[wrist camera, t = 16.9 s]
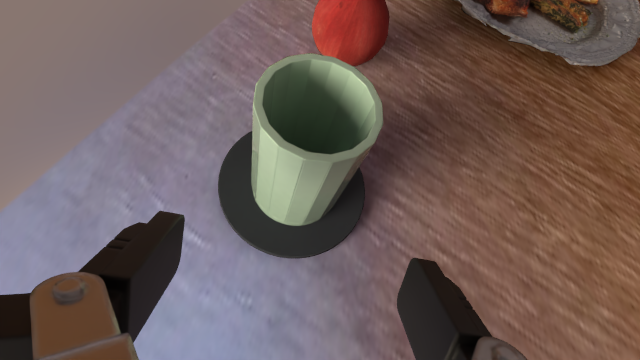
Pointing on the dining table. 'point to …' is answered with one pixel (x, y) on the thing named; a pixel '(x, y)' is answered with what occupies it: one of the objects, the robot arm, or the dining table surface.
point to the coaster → (274, 234)
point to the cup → (310, 135)
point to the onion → (350, 29)
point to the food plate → (565, 26)
